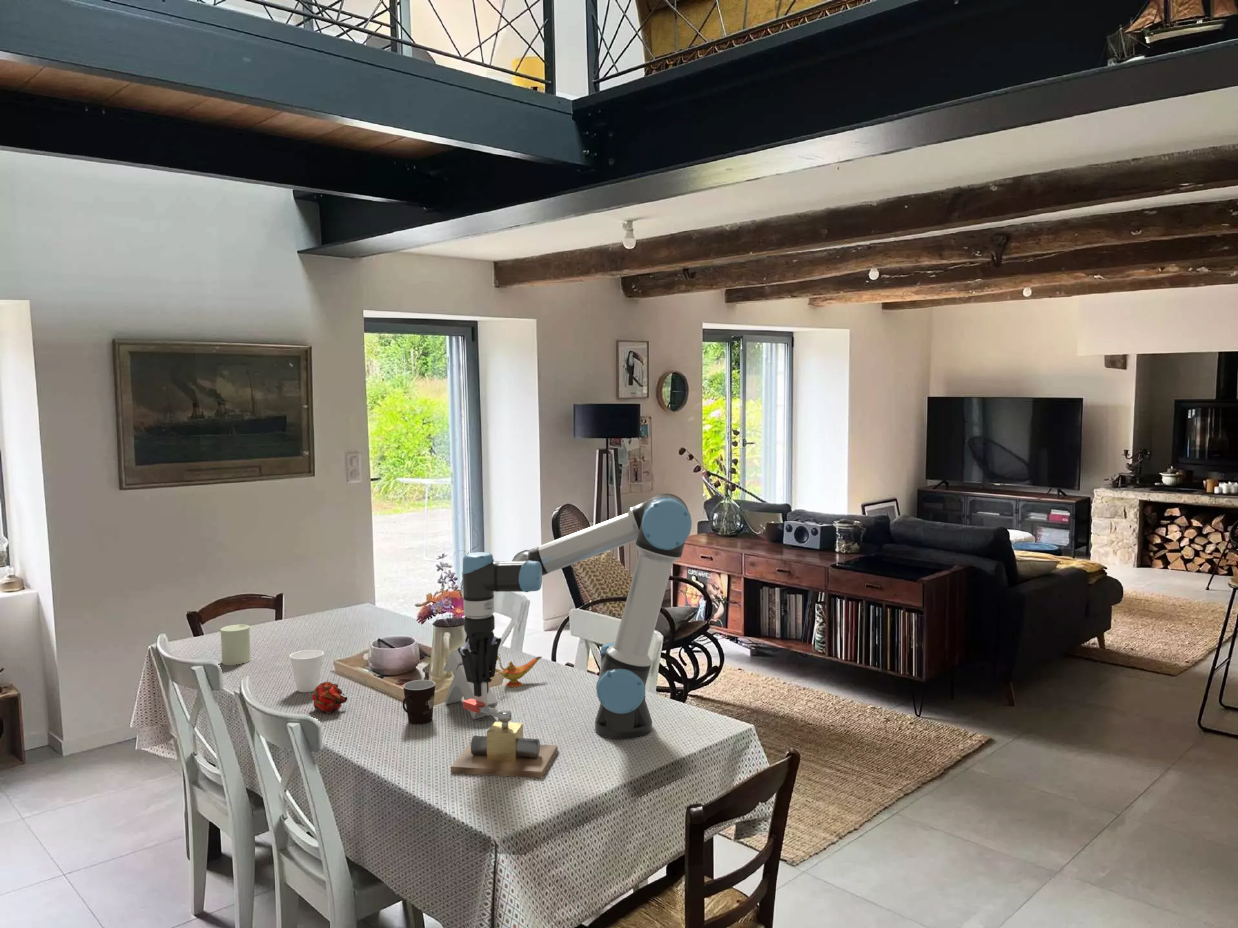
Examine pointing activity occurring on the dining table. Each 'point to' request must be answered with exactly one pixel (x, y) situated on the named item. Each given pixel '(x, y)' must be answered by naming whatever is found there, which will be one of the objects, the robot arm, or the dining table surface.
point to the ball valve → (505, 743)
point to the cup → (306, 669)
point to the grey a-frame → (463, 685)
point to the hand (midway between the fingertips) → (481, 707)
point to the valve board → (505, 764)
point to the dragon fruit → (328, 697)
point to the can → (235, 644)
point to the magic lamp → (516, 672)
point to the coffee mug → (419, 701)
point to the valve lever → (486, 710)
